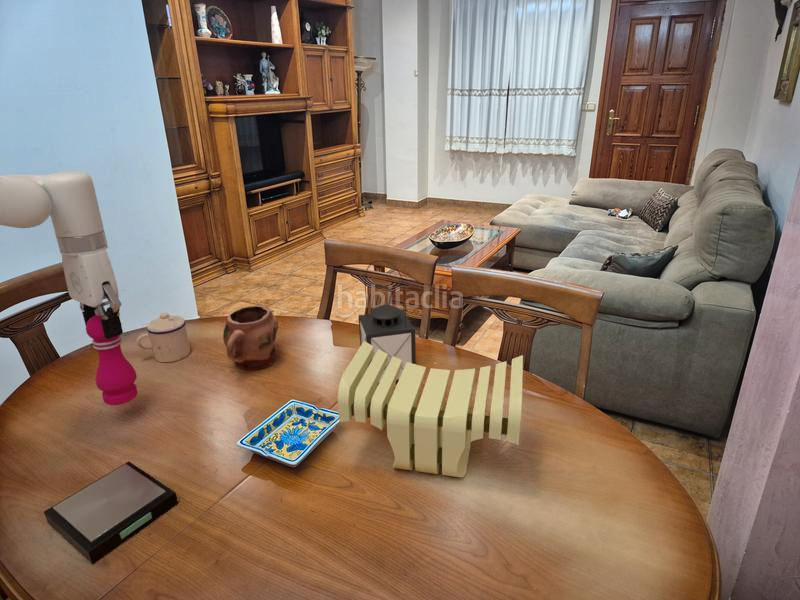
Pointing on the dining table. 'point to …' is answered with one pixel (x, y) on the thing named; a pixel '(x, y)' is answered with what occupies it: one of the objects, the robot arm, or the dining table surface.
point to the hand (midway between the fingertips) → (104, 331)
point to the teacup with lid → (167, 338)
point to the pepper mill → (111, 365)
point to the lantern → (388, 332)
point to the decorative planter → (251, 337)
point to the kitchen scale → (110, 510)
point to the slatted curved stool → (429, 409)
